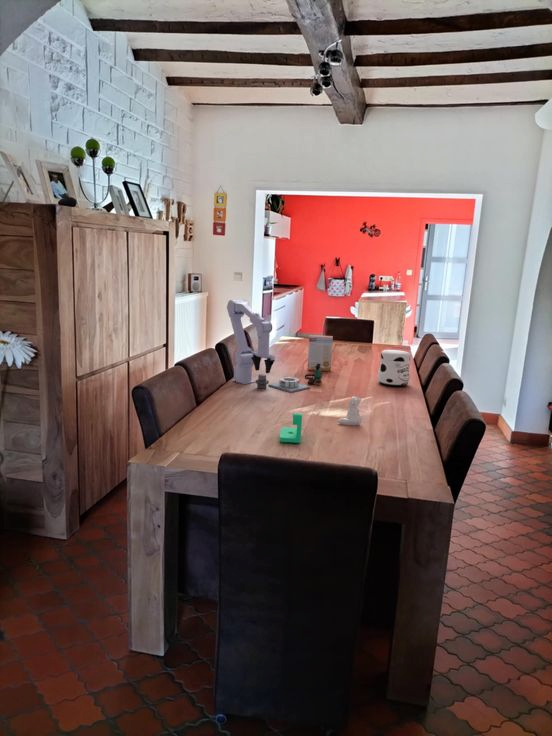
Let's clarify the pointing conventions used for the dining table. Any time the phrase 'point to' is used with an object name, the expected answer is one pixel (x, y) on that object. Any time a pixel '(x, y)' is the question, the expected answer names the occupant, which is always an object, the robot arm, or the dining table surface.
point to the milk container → (394, 368)
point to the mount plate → (300, 387)
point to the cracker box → (320, 352)
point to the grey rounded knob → (261, 381)
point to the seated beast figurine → (352, 413)
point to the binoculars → (317, 376)
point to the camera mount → (292, 430)
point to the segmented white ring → (289, 382)
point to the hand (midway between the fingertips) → (262, 371)
